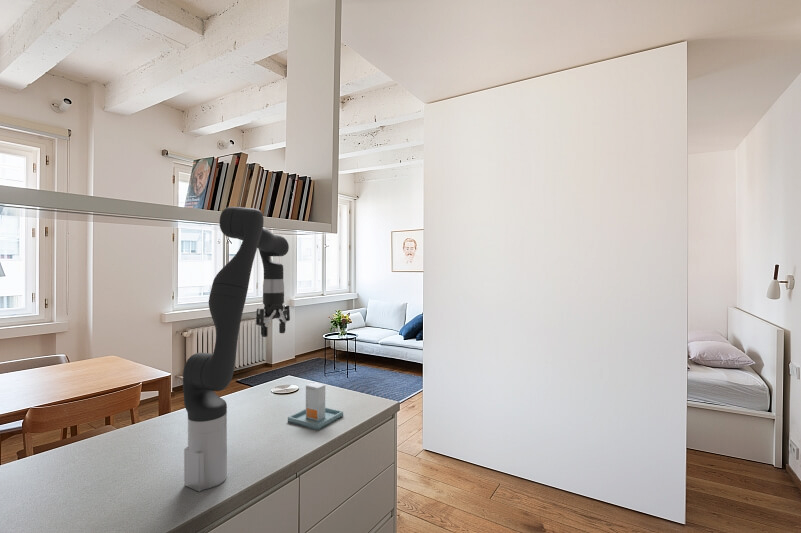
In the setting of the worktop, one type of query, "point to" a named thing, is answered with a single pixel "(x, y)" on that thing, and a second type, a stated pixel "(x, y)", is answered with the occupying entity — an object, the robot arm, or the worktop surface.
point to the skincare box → (315, 401)
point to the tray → (301, 420)
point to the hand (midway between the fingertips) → (273, 334)
